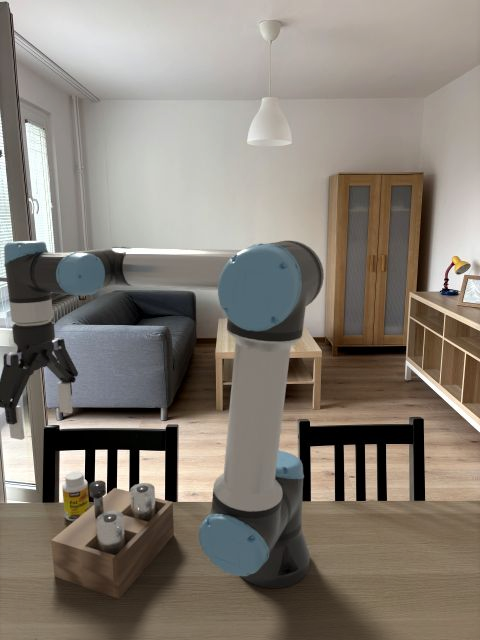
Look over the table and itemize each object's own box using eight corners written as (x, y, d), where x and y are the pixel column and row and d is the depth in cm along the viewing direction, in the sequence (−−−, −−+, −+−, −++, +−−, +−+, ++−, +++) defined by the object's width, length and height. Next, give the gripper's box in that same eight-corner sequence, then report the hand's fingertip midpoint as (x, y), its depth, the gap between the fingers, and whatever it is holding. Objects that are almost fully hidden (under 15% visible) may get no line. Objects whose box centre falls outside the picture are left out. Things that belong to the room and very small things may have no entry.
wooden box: (173, 535, 111) (172, 502, 109) (119, 598, 92) (116, 560, 91) (116, 519, 116) (114, 487, 114) (54, 576, 98) (51, 540, 96)
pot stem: (110, 513, 105) (108, 482, 103) (101, 521, 102) (98, 490, 101) (98, 509, 106) (95, 479, 105) (88, 518, 103) (85, 486, 102)
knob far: (160, 523, 109) (159, 485, 107) (147, 537, 104) (146, 497, 102) (140, 518, 111) (138, 480, 109) (127, 531, 106) (125, 492, 104)
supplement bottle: (68, 525, 114) (65, 484, 112) (61, 513, 119) (58, 473, 116) (92, 517, 117) (90, 476, 115) (85, 505, 122) (82, 466, 119)
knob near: (131, 555, 99) (128, 513, 97) (115, 572, 94) (113, 528, 92) (109, 549, 101) (107, 507, 99) (93, 565, 96) (90, 521, 94)
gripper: (61, 309, 111) (70, 400, 115) (-38, 334, 88) (-23, 447, 92) (89, 311, 108) (97, 404, 112) (-5, 337, 85) (9, 454, 90)
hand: (43, 424), depth 102 cm, fingers open, 13 cm apart
